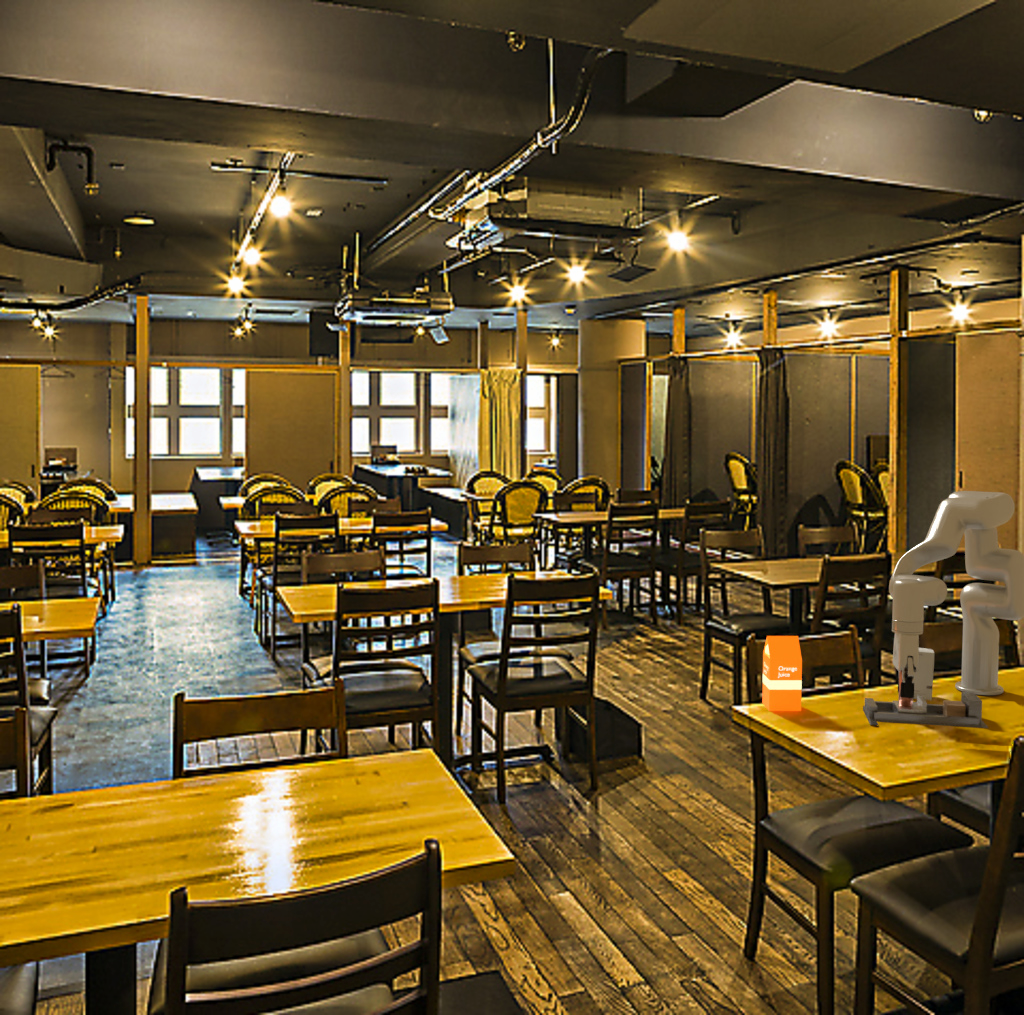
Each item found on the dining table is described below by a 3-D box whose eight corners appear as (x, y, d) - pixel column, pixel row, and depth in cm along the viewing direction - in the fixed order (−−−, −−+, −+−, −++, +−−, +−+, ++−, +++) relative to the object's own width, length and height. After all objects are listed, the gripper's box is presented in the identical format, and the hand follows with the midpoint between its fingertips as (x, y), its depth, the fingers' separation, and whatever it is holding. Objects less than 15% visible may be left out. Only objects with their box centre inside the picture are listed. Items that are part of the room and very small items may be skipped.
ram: (892, 709, 247) (893, 663, 246) (920, 711, 246) (921, 665, 245) (897, 718, 240) (898, 671, 239) (926, 719, 238) (927, 672, 237)
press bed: (862, 710, 252) (863, 684, 252) (974, 716, 246) (975, 689, 245) (870, 725, 239) (871, 698, 238) (988, 732, 232) (989, 704, 232)
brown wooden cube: (942, 715, 243) (943, 700, 243) (960, 716, 242) (961, 701, 242) (946, 720, 239) (947, 705, 238) (965, 721, 238) (965, 706, 237)
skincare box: (900, 701, 260) (902, 649, 259) (899, 696, 265) (901, 645, 264) (933, 704, 257) (934, 652, 256) (931, 698, 262) (933, 647, 261)
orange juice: (801, 711, 252) (802, 638, 250) (769, 711, 252) (770, 639, 250) (793, 703, 259) (794, 632, 258) (761, 703, 260) (762, 632, 258)
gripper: (887, 619, 250) (885, 686, 252) (897, 632, 234) (895, 703, 236) (916, 621, 248) (915, 688, 250) (929, 633, 232) (927, 705, 234)
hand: (905, 694), depth 243 cm, fingers closed on ram, 3 cm apart
